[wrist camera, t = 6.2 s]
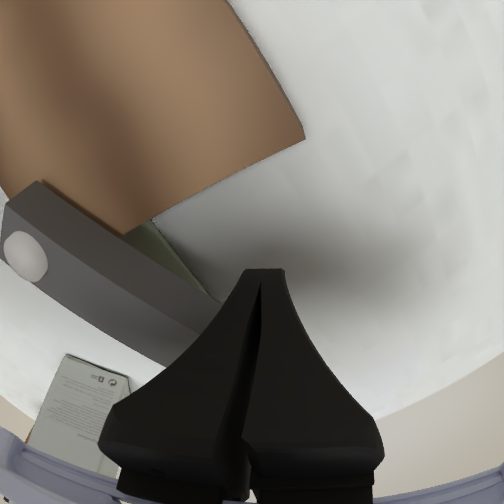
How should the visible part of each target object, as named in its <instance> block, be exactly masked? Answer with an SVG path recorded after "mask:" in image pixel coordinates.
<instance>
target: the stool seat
mask: <svg viewBox="0 0 504 504" xmlns="http://www.w3.org/2000/svg"><path fill="white" fill-rule="evenodd" d="M305 139H306V138H305V134H304V130H303V127H302V124H301V122H300V120H299V118H298V117H297V115H296V113H295V111H294V109H293V107H292V105H291V104H290V102H289V100H288V98H287V96H286V95H285V93H284V91H283V89H282V88H281V86H280V84H279V82H278V81H277V79H276V77H275V75H274V74H273V72H272V70H271V68H270V67H269V65H268V63H267V62H266V60H265V58H264V57H263V55H262V53H261V52H260V50H259V49H258V47H257V45H256V44H255V42H254V41H253V39H252V37H251V36H250V34H249V33H248V31H247V29H246V28H245V26H244V25H243V23H242V22H241V20H240V19H239V17H238V16H237V14H236V13H235V11H234V10H233V8H232V7H231V5H230V4H229V2H228V1H227V0H0V186H1V188H2V189H3V191H4V192H5V194H6V195H7V197H8V198H9V200H11V199H12V198H13V197H15V196H16V195H17V194H18V193H20V192H21V191H22V190H24V189H25V188H26V187H28V186H29V185H30V184H32V183H33V182H35V181H36V180H37V181H39V182H40V183H41V184H43V185H44V186H45V187H47V188H48V189H49V190H51V191H52V192H53V193H55V194H56V195H58V196H59V197H60V198H62V199H63V200H65V201H66V202H67V203H69V204H70V205H72V206H73V207H74V208H76V209H77V210H79V211H80V212H81V213H83V214H84V215H86V216H87V217H89V218H90V219H91V220H93V221H94V222H96V223H97V224H99V225H100V226H102V227H103V228H105V229H106V230H107V231H109V232H110V233H112V234H113V235H115V236H116V237H118V238H119V239H121V240H122V241H124V242H125V243H127V244H128V245H130V246H131V247H133V248H134V249H136V250H137V251H139V252H140V253H142V254H144V255H145V256H147V257H148V258H150V259H151V260H153V261H154V262H156V263H157V264H159V265H161V266H162V267H164V268H165V269H167V270H168V271H170V272H172V273H173V274H175V275H176V276H178V277H180V278H181V279H183V280H184V281H186V282H188V283H189V284H191V285H192V286H194V287H196V288H197V289H199V290H201V291H202V292H204V293H205V294H207V295H209V294H208V293H207V292H206V291H205V289H204V288H203V287H202V286H201V284H200V283H199V282H198V281H197V279H196V278H195V277H194V276H193V274H192V273H191V272H190V271H189V269H188V268H187V267H186V266H185V264H184V263H183V262H182V260H181V259H180V258H179V257H178V255H177V254H176V253H175V251H174V250H173V249H172V248H171V246H170V245H169V244H168V242H167V241H166V240H165V238H164V237H163V236H162V234H161V233H160V232H159V231H158V229H157V228H156V227H155V225H154V224H153V223H152V221H151V220H150V219H151V218H153V217H154V216H156V215H158V214H160V213H162V212H163V211H165V210H167V209H169V208H170V207H172V206H174V205H176V204H178V203H179V202H181V201H183V200H185V199H187V198H189V197H190V196H192V195H194V194H196V193H198V192H200V191H202V190H203V189H205V188H207V187H209V186H211V185H213V184H215V183H217V182H219V181H221V180H223V179H225V178H226V177H228V176H230V175H232V174H234V173H236V172H238V171H240V170H242V169H244V168H246V167H248V166H250V165H252V164H254V163H256V162H258V161H261V160H263V159H265V158H267V157H269V156H271V155H273V154H275V153H277V152H279V151H281V150H284V149H286V148H288V147H290V146H292V145H294V144H296V143H299V142H301V141H303V140H305Z"/></svg>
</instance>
